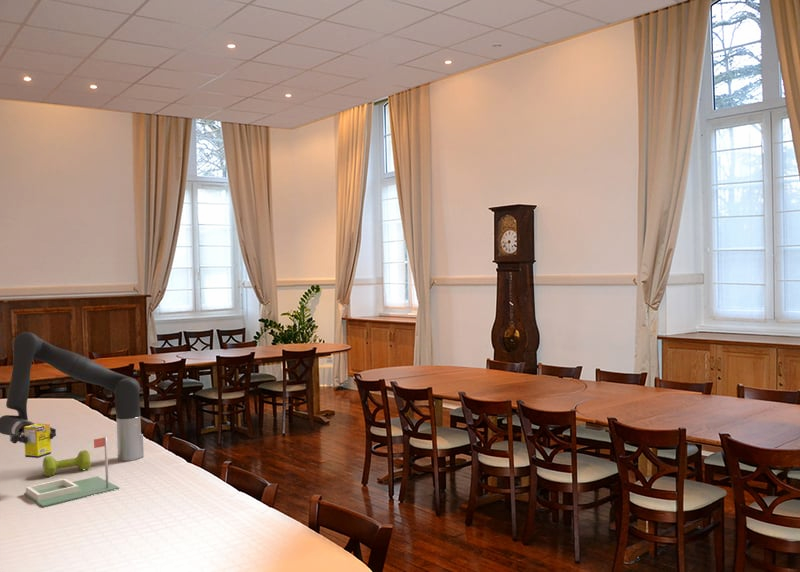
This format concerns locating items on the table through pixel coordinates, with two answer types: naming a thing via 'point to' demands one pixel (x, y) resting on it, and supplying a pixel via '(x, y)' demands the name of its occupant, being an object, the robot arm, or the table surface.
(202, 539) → the table surface
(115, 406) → the robot arm
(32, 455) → the supplement box
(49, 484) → the cup
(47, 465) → the dumbbell
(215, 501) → the table surface
